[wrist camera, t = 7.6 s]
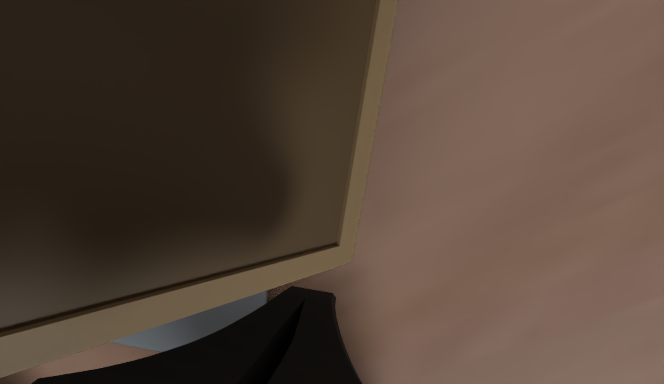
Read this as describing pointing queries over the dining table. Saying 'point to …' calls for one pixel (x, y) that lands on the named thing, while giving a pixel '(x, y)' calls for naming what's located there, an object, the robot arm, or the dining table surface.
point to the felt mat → (194, 325)
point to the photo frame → (175, 158)
